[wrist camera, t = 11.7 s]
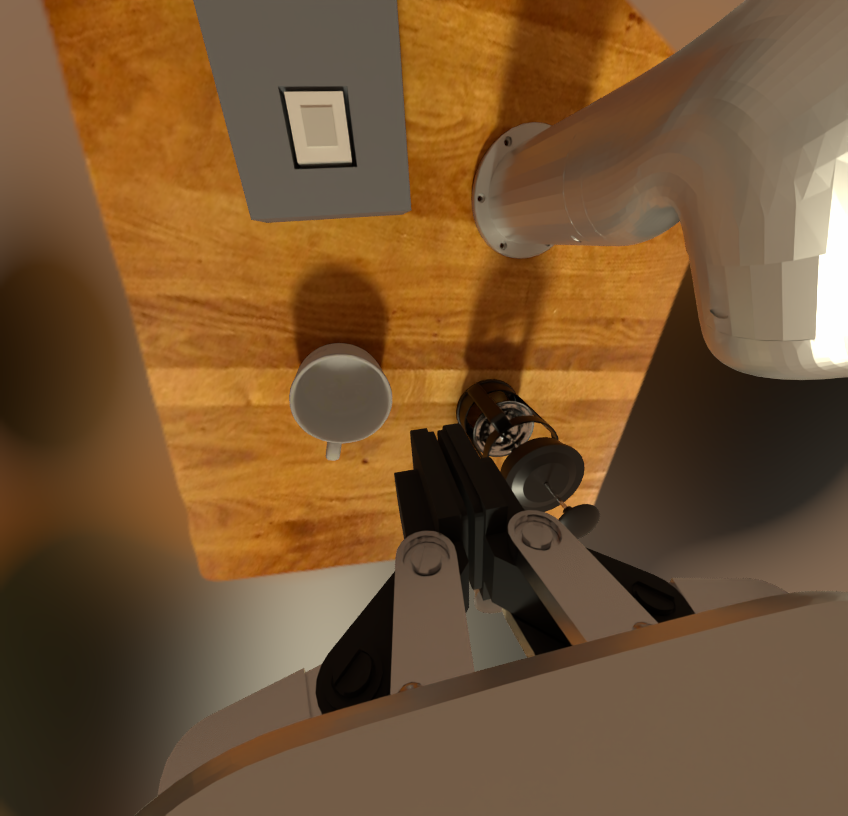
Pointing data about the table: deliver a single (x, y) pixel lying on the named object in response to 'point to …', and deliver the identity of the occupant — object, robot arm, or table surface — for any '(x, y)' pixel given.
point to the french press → (527, 454)
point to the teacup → (340, 395)
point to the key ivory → (319, 129)
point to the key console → (311, 72)
